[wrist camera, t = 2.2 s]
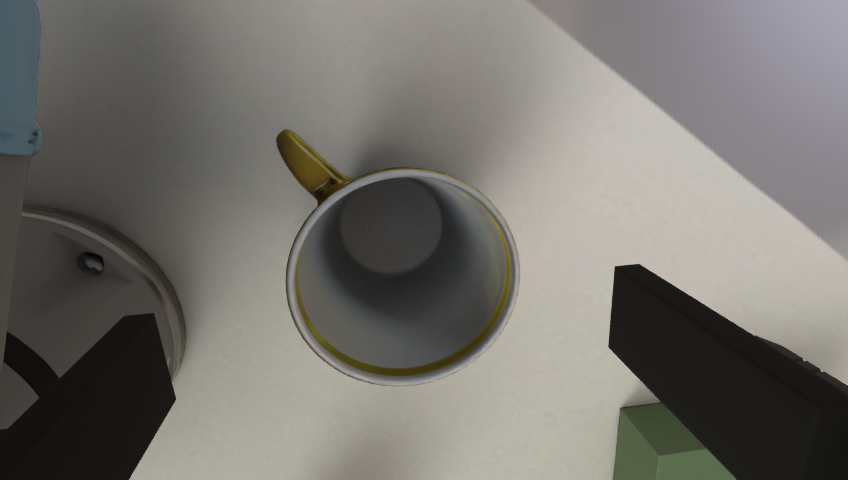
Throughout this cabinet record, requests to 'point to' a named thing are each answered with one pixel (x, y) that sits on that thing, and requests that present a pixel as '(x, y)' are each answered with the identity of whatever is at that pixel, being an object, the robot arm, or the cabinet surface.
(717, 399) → the robot arm
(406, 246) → the ceramic cup
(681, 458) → the green block
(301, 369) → the cabinet surface
